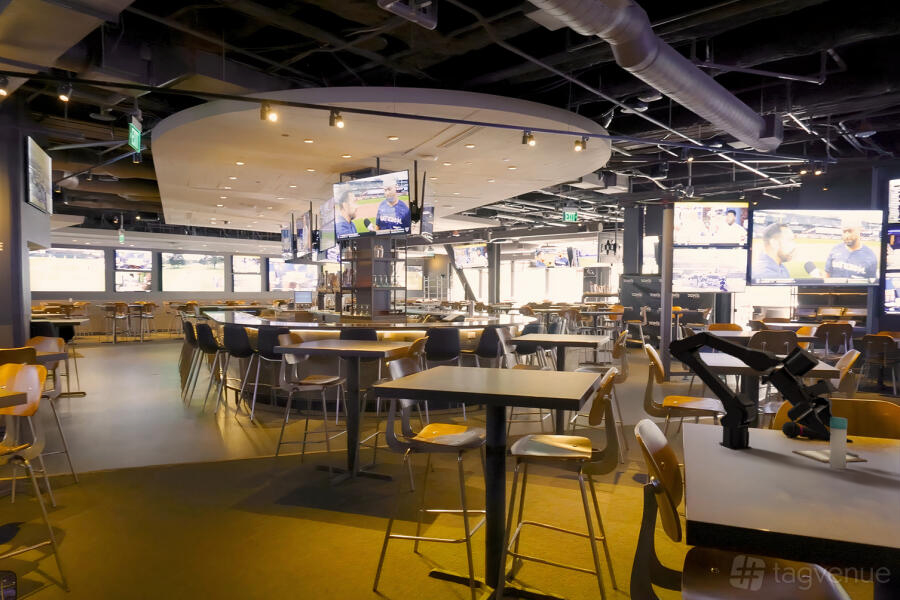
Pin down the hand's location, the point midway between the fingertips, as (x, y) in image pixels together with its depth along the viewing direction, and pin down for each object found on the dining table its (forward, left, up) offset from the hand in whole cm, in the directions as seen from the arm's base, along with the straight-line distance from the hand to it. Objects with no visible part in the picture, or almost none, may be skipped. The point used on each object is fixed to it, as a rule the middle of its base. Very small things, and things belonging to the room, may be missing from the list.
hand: (835, 433), depth 151 cm
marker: (0, -1, -9) cm, 9 cm away
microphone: (+22, +29, -9) cm, 37 cm away
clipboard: (+7, +9, -9) cm, 15 cm away
